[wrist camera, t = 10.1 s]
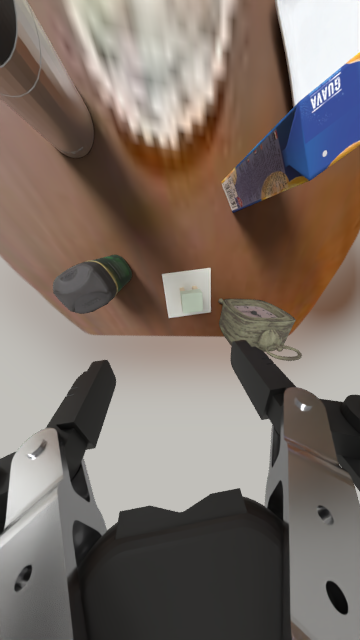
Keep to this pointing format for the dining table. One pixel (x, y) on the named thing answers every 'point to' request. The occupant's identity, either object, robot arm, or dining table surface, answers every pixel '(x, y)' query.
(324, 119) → the beverage box
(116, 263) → the coffee jar
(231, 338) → the tabletop clock
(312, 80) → the salad plate
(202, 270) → the mat
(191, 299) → the cube with two prongs
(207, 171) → the dining table surface
